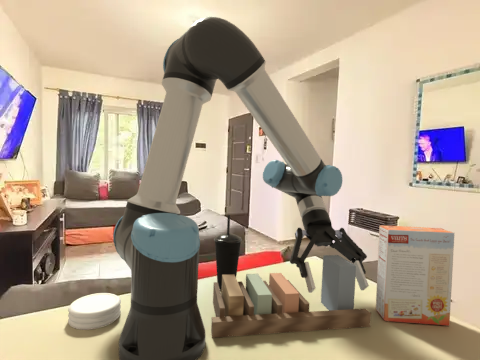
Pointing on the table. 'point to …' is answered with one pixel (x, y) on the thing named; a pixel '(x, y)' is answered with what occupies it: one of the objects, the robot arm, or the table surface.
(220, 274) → the drinking cup
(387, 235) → the cracker box
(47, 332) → the table surface
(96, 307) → the white disc stack
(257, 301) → the sage offcut
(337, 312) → the rack
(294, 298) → the terracotta offcut
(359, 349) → the table surface
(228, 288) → the oak offcut
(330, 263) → the slate blue block
